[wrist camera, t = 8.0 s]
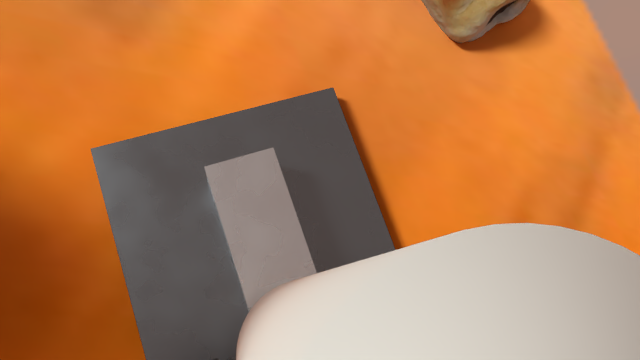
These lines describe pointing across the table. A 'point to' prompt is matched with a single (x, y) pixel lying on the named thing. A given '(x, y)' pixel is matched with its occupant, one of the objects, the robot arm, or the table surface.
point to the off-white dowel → (460, 302)
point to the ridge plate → (189, 224)
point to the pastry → (472, 16)
